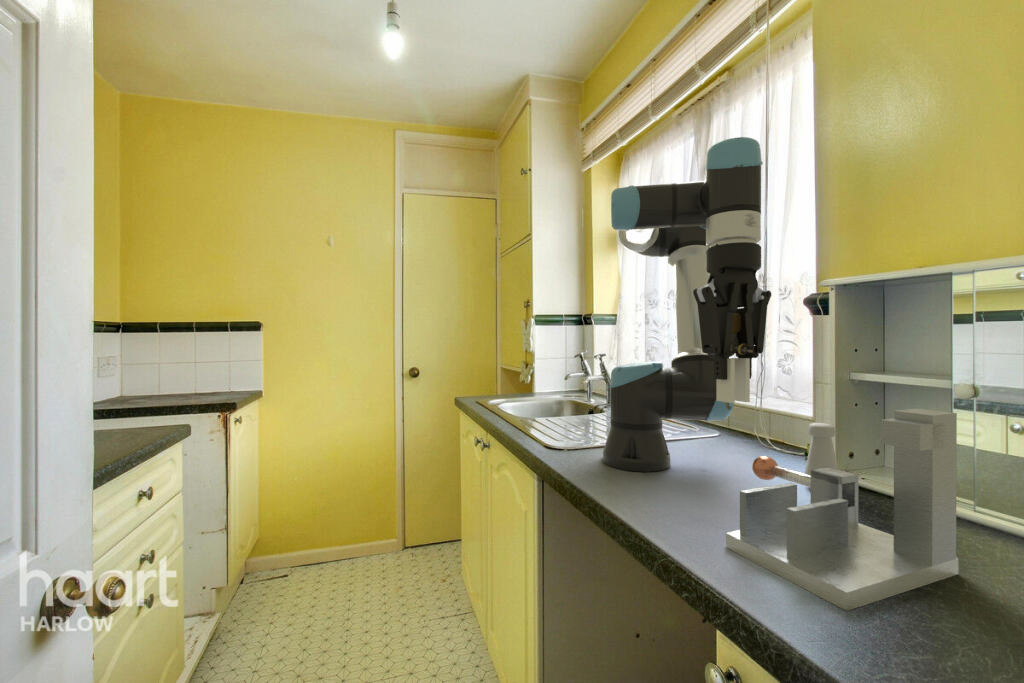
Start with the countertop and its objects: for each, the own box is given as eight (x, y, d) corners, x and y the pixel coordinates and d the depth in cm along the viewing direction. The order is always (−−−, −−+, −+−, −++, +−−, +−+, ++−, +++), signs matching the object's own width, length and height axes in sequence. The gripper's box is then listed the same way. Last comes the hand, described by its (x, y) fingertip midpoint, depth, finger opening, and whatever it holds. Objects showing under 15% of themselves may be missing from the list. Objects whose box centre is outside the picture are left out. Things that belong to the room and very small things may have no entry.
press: (725, 547, 63) (726, 404, 63) (827, 524, 71) (827, 397, 71) (846, 611, 48) (847, 424, 48) (958, 574, 56) (959, 412, 56)
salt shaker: (846, 497, 83) (846, 427, 83) (811, 495, 84) (812, 426, 84) (830, 487, 89) (831, 421, 89) (798, 485, 90) (798, 420, 90)
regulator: (702, 407, 71) (704, 312, 71) (721, 406, 72) (723, 313, 72) (743, 415, 64) (745, 309, 64) (763, 414, 65) (765, 310, 65)
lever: (746, 477, 79) (746, 454, 79) (763, 475, 80) (763, 452, 80) (832, 505, 65) (832, 478, 65) (850, 502, 67) (850, 475, 67)
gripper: (712, 235, 62) (712, 406, 62) (792, 244, 67) (792, 402, 67) (674, 246, 69) (674, 400, 69) (750, 254, 74) (750, 396, 74)
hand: (732, 401), depth 68 cm, fingers closed on regulator, 2 cm apart
